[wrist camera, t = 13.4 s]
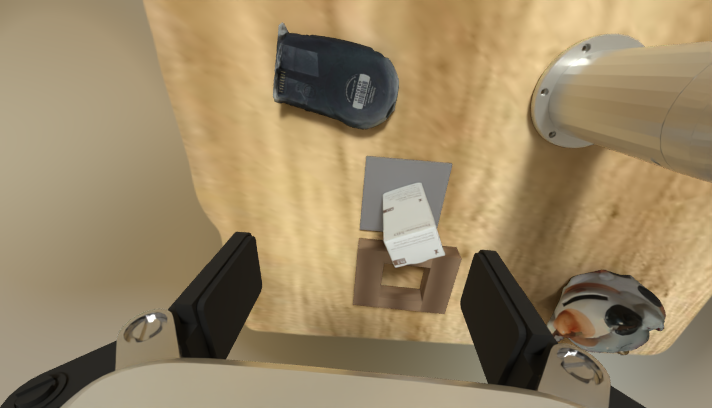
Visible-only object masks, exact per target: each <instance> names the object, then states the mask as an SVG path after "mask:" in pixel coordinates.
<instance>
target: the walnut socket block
mask: <svg viewBox="0 0 712 408" xmlns="http://www.w3.org/2000/svg"><path fill="white" fill-rule="evenodd" d="M442 247H443V250H444V252H445V255H444V256H440V257H436V258H432V259H429V260H427V261H424V262H421V263H417V264H409V265H407V266H417V267H425V269H424V273H423V277H422V281H421V286H420V289H414V288H404V287H394V286H384V285H381V280H382V273H383V266H384V263H386V264H393V262H392V260H391V257H390V255H389V253H388V251H387V248H386V246H385V244H384V240H374V239H363V238H359V245H358V255H357V266H356V278H355V289H354V300H353V305H362V306H371V307H381V308H391V309H400V310H410V311H420V312H430V313H439V314H445V311H446V308H447V305H448V302H449V298H450V295H451V292H452V289H453V285H454V282H455V279H456V276H457V272H458V269H459V266H460V263H461V256H460V254H459V252H458V250H457V248H456V247H447V246H442Z"/></svg>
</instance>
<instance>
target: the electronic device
mask: <svg viewBox="0 0 712 408" xmlns="http://www.w3.org/2000/svg"><path fill="white" fill-rule="evenodd" d="M398 89H399V79H398V76H397V73H396V70H395V68H394V66H393V64H392V62H391V61H390V60H389V59H388V58H385V57H384V56H383V55H382V54H381V53H379V52H376V51H374V50H373V49H372V48H371V47H367V46H364V45H361V44H357V43H353V42H350V41H345V40H341V39H336V38H330V37H325V36H317V35H310V36H309V35H300V34H295V33H289V32H288V30H287V28H286V26H285V24H284V23H283V22H282V23H281V24H280V25H279V30H278V41H277V54H276V63H275V77H274V88H273V98H274V101H275V102H277V103H286V104H289V105H292V106H295V107H298V108H302V109H304V110H306V111H311V112H314V113H318V114H321V115H324V116H328V117H331V118H333V119H337V120H339V121H341V122H343V123H344V124H346V125H348V126H350V127H353V128H358V129H368V128H372V127H374V126H377V125H379V124H381V123H382V122H384V121H385V120H387V118H388V117H389V116H390V114H391V113H392V112H393V111H395V104H396V100H397V95H398Z"/></svg>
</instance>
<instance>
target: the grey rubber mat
mask: <svg viewBox="0 0 712 408" xmlns="http://www.w3.org/2000/svg"><path fill="white" fill-rule="evenodd" d="M451 168H452V163H442V162H431V161H419V160H408V159H396V158H385V157H373V156H366V167H365V178H364V189H363V201H362V212H361V223H360V229H361V230H371V231H382V232H383V194H384V193H387V192H389V191H392V190H395V189H398V188H401V187H404V186H407V185H411V184H415V183H422V186H423V189H424V192H425V195H426V198H427V201H428V204H429V206H430V209H431V212H432V215H433V218H434V221H435V225H436V228H437V226H438V222H439V218H440V214H441V209H442V205H443V201H444V197H445V193H446V189H447V185H448V180H449V176H450V172H451Z"/></svg>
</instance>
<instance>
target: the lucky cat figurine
mask: <svg viewBox="0 0 712 408" xmlns="http://www.w3.org/2000/svg"><path fill="white" fill-rule="evenodd" d="M665 317H666V314H665V310H664V307H663V305H662V304H661V302H660V300H659V299H658V298H657V297H656V296H655V295H654V294H653V293H652V292H651V291H649V290H648V289H647V288H645V287H644V286H643V285H642V284H640V283H639V282H638V281H637V280H635V279H634V278H633V277H632V276H631V275H619V274H616V273H612V272H609V271H607V270H599V271H595V272H590V273H585V274H580V275H577V276H574V277H572V278H571V280H570V282H569V283H568V285H567V286H565V287H564V288H563V291H562V295H561V298H560V300H559V302H558V304H557V307H556V309H555V311H554V313H553V314H552V316H551V318H550V320H549V321H548V323H547V325H546V326H547V327H548V329H549V330H550V332H551V333H552V335H553V336H554V338H555V339H556V341H558V342H559V341H560V340H563V339H564V337H566V338H568V339H570V340H571V341H572V342H573V343H574V344H575V345H577V346H578V347H580V348H581V349H583V350H586V351H591V352H599V353H600V352H607V353H608V352H609V353H616V352H617V353H618V354H621V355H627V354H628V353H629V350H630V351H631V350H634V349H637V348H638V347H639V346H642V345H643V344H645V343H646V342H647V341H648V340H649V331H651V330H654V329H656V330H658V331H662V330H663V329H664V322H665V321H664V320H665Z"/></svg>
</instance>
